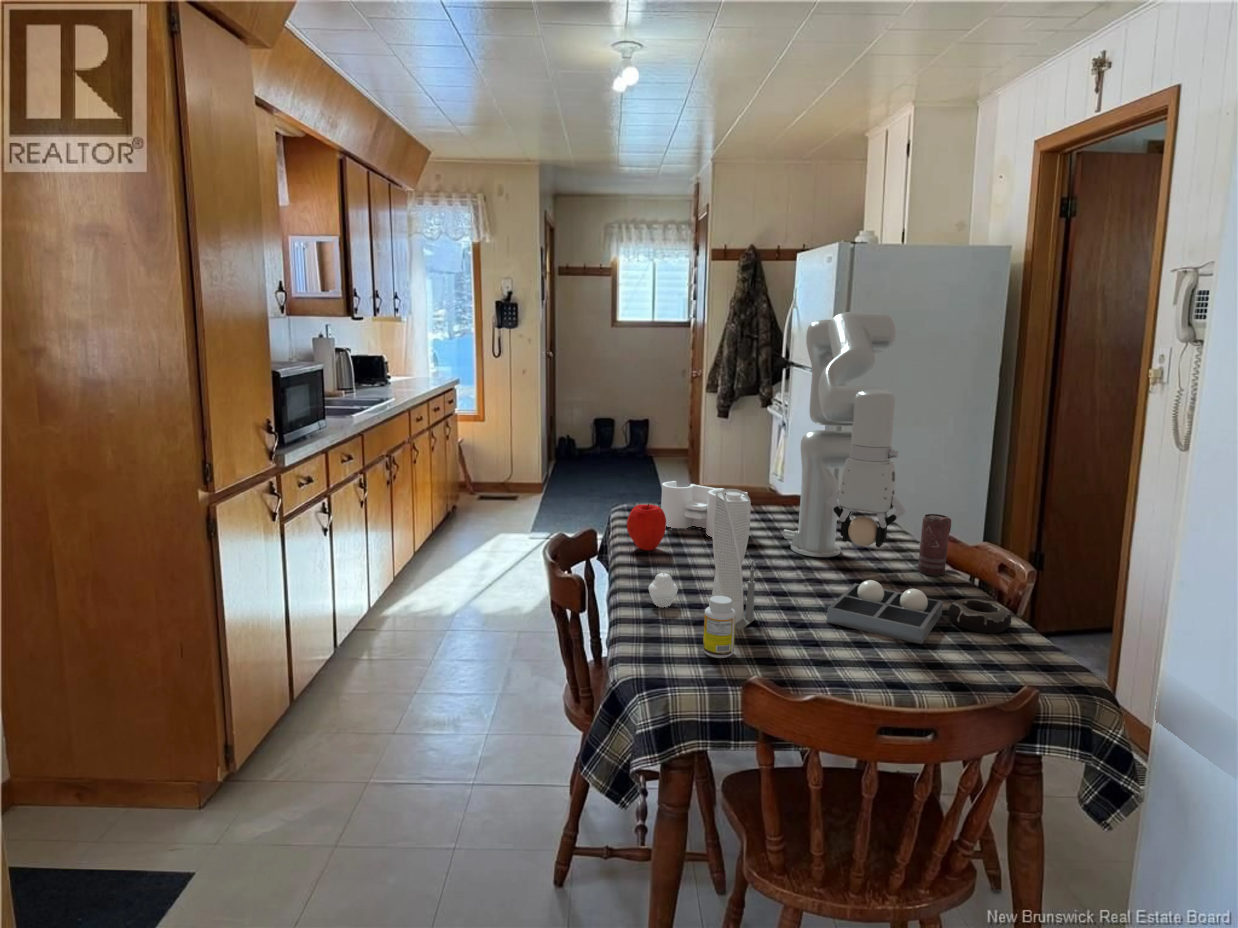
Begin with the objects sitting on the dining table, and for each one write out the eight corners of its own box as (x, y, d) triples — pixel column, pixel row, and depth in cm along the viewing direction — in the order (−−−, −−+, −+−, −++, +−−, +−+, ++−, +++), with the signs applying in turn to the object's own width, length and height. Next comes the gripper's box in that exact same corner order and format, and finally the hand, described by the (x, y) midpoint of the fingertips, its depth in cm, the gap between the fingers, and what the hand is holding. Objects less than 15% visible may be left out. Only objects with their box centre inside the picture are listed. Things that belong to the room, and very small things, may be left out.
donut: (938, 613, 170) (940, 594, 169) (995, 615, 169) (997, 597, 169) (959, 635, 158) (961, 615, 157) (1020, 637, 158) (1022, 618, 157)
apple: (620, 551, 205) (622, 505, 203) (634, 541, 214) (636, 497, 212) (657, 557, 202) (659, 509, 199) (670, 546, 211) (672, 501, 208)
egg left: (853, 606, 170) (855, 581, 169) (860, 598, 175) (862, 574, 174) (879, 611, 167) (881, 586, 166) (885, 604, 172) (888, 579, 171)
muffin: (657, 612, 165) (658, 579, 164) (642, 602, 171) (643, 570, 169) (682, 607, 168) (684, 575, 167) (667, 597, 174) (668, 566, 172)
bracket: (653, 527, 230) (655, 485, 227) (670, 520, 238) (672, 479, 235) (733, 542, 216) (736, 498, 214) (748, 535, 224) (751, 492, 222)
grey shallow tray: (826, 622, 162) (827, 607, 162) (853, 596, 178) (854, 583, 177) (921, 644, 153) (923, 629, 152) (941, 614, 168) (943, 601, 168)
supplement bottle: (713, 643, 150) (716, 591, 148) (739, 652, 147) (742, 599, 145) (696, 652, 146) (699, 599, 144) (722, 662, 143) (725, 607, 141)
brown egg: (851, 539, 166) (853, 511, 165) (881, 544, 163) (883, 515, 162) (843, 546, 161) (845, 516, 160) (873, 551, 158) (876, 521, 157)
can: (947, 577, 192) (954, 520, 189) (919, 575, 193) (925, 518, 191) (943, 569, 198) (949, 514, 195) (915, 567, 199) (921, 512, 197)
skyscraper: (738, 633, 156) (746, 492, 151) (700, 624, 160) (707, 486, 155) (755, 620, 163) (763, 484, 158) (718, 611, 167) (725, 479, 162)
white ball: (895, 615, 166) (898, 590, 165) (902, 607, 170) (904, 583, 169) (923, 621, 163) (925, 595, 162) (929, 613, 167) (931, 588, 166)
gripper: (920, 456, 157) (911, 545, 160) (832, 446, 166) (825, 532, 169) (911, 461, 151) (902, 554, 154) (821, 451, 160) (814, 539, 163)
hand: (862, 541), depth 162 cm, fingers closed on brown egg, 5 cm apart
